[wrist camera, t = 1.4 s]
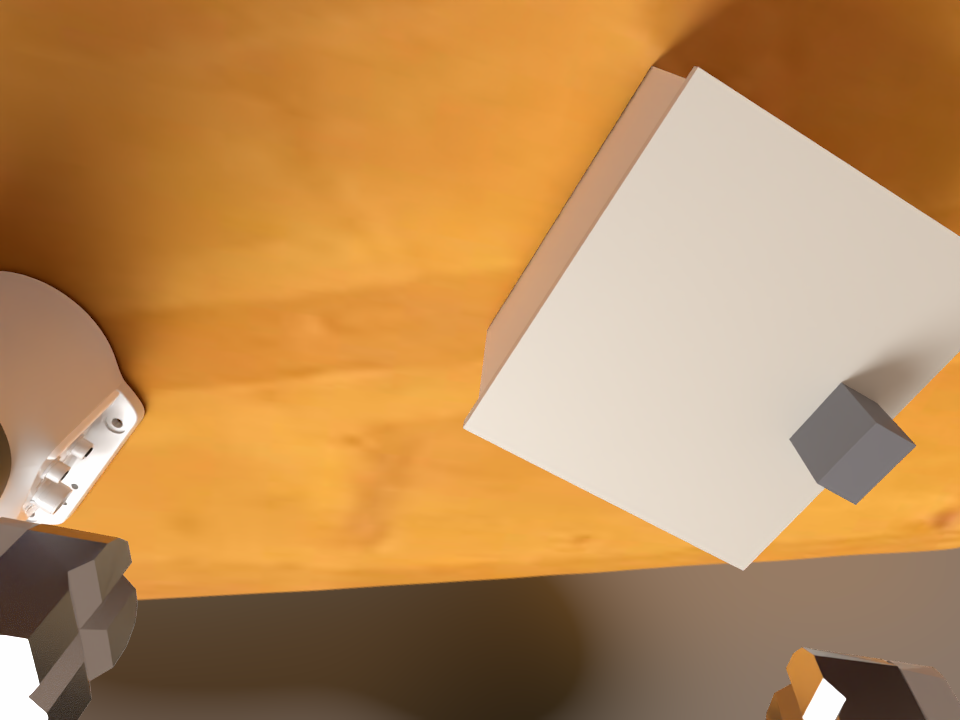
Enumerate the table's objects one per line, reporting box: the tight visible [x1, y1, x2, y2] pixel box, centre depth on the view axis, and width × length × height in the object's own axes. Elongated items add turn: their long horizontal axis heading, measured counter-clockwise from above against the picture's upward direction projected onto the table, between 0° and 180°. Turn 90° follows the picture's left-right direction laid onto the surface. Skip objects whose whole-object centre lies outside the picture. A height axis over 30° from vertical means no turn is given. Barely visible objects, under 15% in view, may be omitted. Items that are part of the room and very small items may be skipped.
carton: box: [479, 66, 686, 397], centre depth 42 cm, size 20×18×12 cm
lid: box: [463, 66, 960, 570], centre depth 34 cm, size 21×19×5 cm
